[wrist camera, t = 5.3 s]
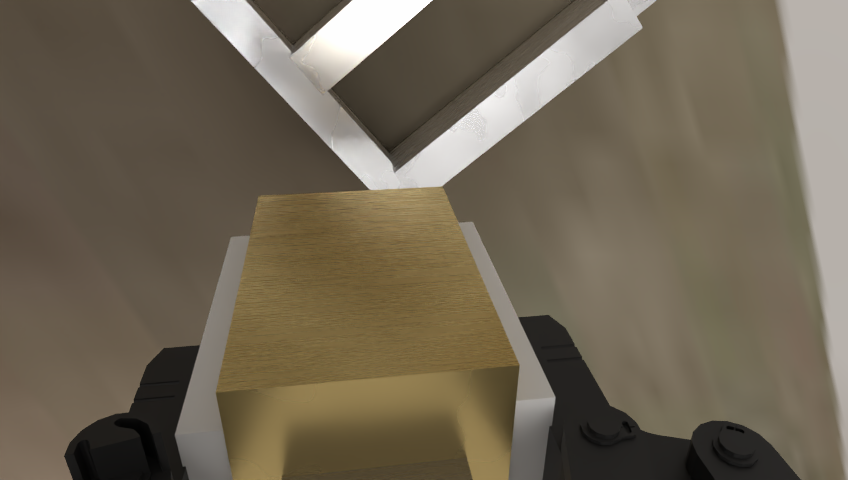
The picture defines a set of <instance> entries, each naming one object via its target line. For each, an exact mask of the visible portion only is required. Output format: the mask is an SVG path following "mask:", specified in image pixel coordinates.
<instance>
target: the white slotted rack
mask: <svg viewBox="0 0 848 480" xmlns="http://www.w3.org/2000/svg"><path fill="white" fill-rule="evenodd" d="M191 1H192V2H193V3H194V4H195V5H196V7H197V8H198V9H199V10H200V11H201V12H202V13H203V14H204V15H205V16H206V17H207V18H208V19H209V20H210V21H211V22H212V23H213V24H214V26H215V27H216V28H217V29H218V30H219V31H220V32H221V33H222V34H223V35H224V36H225V37H226V38H227V39H228V40H229V41H230V42H231V44H232V45H233V46H234V47H235V48H236V49H237V50H238V51H239V52H240V53H241V54H242V55H243V56H244V57H245V58H246V59H247V60H248V61H249V63H250V64H251V65H252V66H253V67H254V68H255V69H256V70H257V71H258V72H259V73H260V74H261V75H262V76H263V77H264V78H265V79H266V80H267V82H268V83H269V84H270V85H271V86H272V87H273V88H274V89H275V90H276V91H277V92H278V93H279V94H280V95H281V96H282V97H283V98H284V99H285V101H286V102H287V103H288V104H289V105H290V106H291V107H292V108H293V109H294V110H295V111H296V112H297V113H298V114H299V115H300V116H301V117H302V118H303V120H304V121H305V122H306V123H307V124H308V125H309V126H310V127H311V128H312V129H313V130H314V131H315V132H316V133H317V134H318V135H319V136H320V138H321V139H322V140H323V141H324V142H325V143H326V144H327V145H328V146H329V147H330V148H331V149H332V150H333V151H334V152H335V153H336V154H337V155H338V157H339V158H340V159H341V160H342V161H343V162H344V163H345V164H346V165H347V166H348V167H349V168H350V169H351V170H352V171H353V172H354V173H355V174H356V176H357V177H358V178H359V179H360V180H361V181H362V182H363V183H364V184H365V185H366V186H367V187H368V188H369V189H370V190H383V189H402V188H422V187H441V186H442V185H444V184H445V183H446V182H448V181H449V180H450V179H451V178H453V177H454V176H455V175H456V174H458V173H459V172H460V171H462V170H463V169H464V168H465V167H467V166H468V165H469V164H470V163H472V162H473V161H474V160H475V159H477V158H478V157H479V156H481V155H482V154H483V153H484V152H486V151H487V150H488V149H489V148H491V147H492V146H493V145H495V144H496V143H497V142H498V141H500V140H501V139H502V138H503V137H505V136H506V135H507V134H508V133H510V132H511V131H512V130H514V129H515V128H516V127H517V126H519V125H520V124H521V123H522V122H524V121H525V120H526V119H527V118H529V117H530V116H531V115H533V114H534V113H535V112H536V111H538V110H539V109H540V108H541V107H543V106H544V105H545V104H547V103H548V102H549V101H550V100H552V99H553V98H554V97H555V96H557V95H558V94H559V93H560V92H562V91H563V90H564V89H566V88H567V87H568V86H569V85H571V84H572V83H573V82H574V81H576V80H577V79H578V78H579V77H581V76H582V75H583V74H585V73H586V72H587V71H588V70H590V69H591V68H592V67H593V66H595V65H596V64H597V63H599V62H600V61H601V60H602V59H604V58H605V57H606V56H607V55H609V54H610V53H611V52H612V51H614V50H615V49H616V48H618V47H619V46H620V45H621V44H623V43H624V42H625V41H626V40H628V39H629V38H630V37H632V36H633V35H634V34H635V33H637V32H638V31H639V30H640V29H642V28H643V27H642V25H641V24H640V22H639V20H638V19H637V17H636V16H637V15H639V14H640V13H641V12H642V11H644V10H645V9H646V8H647V7H649V6H650V5H651V4H652V3H654V2H655V1H656V0H575V1H574V2H572V3H571V4H570V5H569V6H567V7H566V8H565V9H564V10H563V11H561V12H560V13H559V14H558V15H556V16H555V17H554V18H553V19H552V20H550V21H549V22H548V23H547V24H545V25H544V26H543V27H542V28H541V29H539V30H538V31H537V32H536V33H534V34H533V35H532V36H531V37H530V38H528V39H527V40H526V41H525V42H523V43H522V44H521V45H520V46H519V47H517V48H516V49H515V50H514V51H512V52H511V53H510V54H509V55H508V56H506V57H505V58H504V59H503V60H502V61H500V62H499V63H498V64H497V65H495V66H494V67H493V68H492V69H491V70H489V71H488V72H487V73H486V74H484V75H483V76H482V77H481V78H480V79H478V80H477V81H476V82H475V83H473V84H472V85H471V86H470V87H469V88H467V89H466V90H465V91H464V92H462V93H461V94H460V95H459V96H458V97H456V98H455V99H454V100H453V101H451V102H450V103H449V104H448V105H447V106H445V107H444V108H443V109H442V110H440V111H439V112H438V113H437V114H436V115H434V116H433V117H432V118H431V119H429V120H428V121H427V122H426V123H425V124H423V125H422V126H421V127H420V128H419V129H417V130H416V131H415V132H414V133H412V134H411V135H410V136H409V137H408V138H406V139H405V140H404V141H403V142H401V143H400V144H399V145H398V146H397V147H395V148H394V149H393V150H392V151H390V152H388V151H387V150H386V149H385V148H384V147H383V145H382V144H381V143H380V142H379V141H378V140H377V139H376V138H375V137H374V135H373V134H372V133H371V132H370V131H369V130H368V129H367V128H366V126H365V125H364V124H363V123H362V122H361V121H360V120H359V119H358V118H357V116H356V115H355V114H354V113H353V112H352V111H351V110H350V109H349V107H348V106H347V105H346V104H345V103H344V102H343V101H342V100H341V99H340V97H339V96H338V95H337V94H336V93H335V92H334V91H333V90H332V87H333V86H334V85H335V84H336V83H337V82H339V81H340V80H341V79H342V78H343V77H344V76H345V75H347V74H348V73H349V72H350V71H351V70H352V69H354V68H355V67H356V66H357V65H358V64H359V63H360V62H362V61H363V60H364V59H365V58H366V57H367V56H369V55H370V54H371V53H372V52H373V51H374V50H375V49H377V48H378V47H379V46H380V45H381V44H382V43H384V42H385V41H386V40H387V39H388V38H389V37H390V36H392V35H393V34H394V33H395V32H396V31H397V30H399V29H400V28H401V27H402V26H403V25H404V24H405V23H407V22H408V21H409V20H410V19H411V18H412V17H414V16H415V15H416V14H417V13H418V12H419V11H420V10H422V9H423V8H424V7H425V6H426V5H427V4H429V3H430V2H431V1H432V0H342V1H341V2H340V3H339V4H338V5H337V6H336V7H335V8H333V9H332V10H331V11H330V12H329V13H328V14H327V15H326V16H324V17H323V18H322V19H321V20H320V21H319V22H318V23H317V24H316V25H314V26H313V27H312V28H311V29H310V30H309V31H308V32H307V33H306V34H304V35H303V36H302V37H301V38H300V39H299V40H298V41H297V42H296V43H294V44H293V45H292V44H291V43H290V42H289V40H288V39H287V38H286V37H285V36H284V35H283V34H282V33H281V31H280V30H279V29H278V28H277V27H276V26H275V25H274V24H273V23H272V21H271V20H270V19H269V18H268V17H267V16H266V15H265V14H264V12H263V11H262V10H261V9H260V8H259V7H258V6H257V5H256V4H255V2H254V1H253V0H191Z"/></svg>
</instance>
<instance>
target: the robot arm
mask: <svg viewBox="0 0 848 480" xmlns="http://www.w3.org/2000/svg"><path fill="white" fill-rule="evenodd" d="M458 224H459V226H460V228H461V230H462V233H463V235H464V237H465V240H466V242H467V244H468V247H469V249H470V251H471V254H472V256H473V258H474V261H475V263H476V265H477V268H478V270H479V272H480V274H481V277H482V279H483V281H484V284H485V286H486V288H487V291H488V293H489V295H490V298H491V300H492V302H493V305H494V307H495V309H496V312H497V314H498V316H499V318H500V321H501V323H502V325H503V328H504V330H505V332H506V335H507V337H508V339H509V342H510V344H511V346H512V349H513V351H514V353H515V356H516V358H517V360H518V362H519V365H520V367H519V377H518V387H517V398H516V408H515V418H514V428H513V438H512V448H511V458H510V468H509V478H508V480H801V479H800V478H799V477H798V476H797V475H796V474H795V472H794V471H793V470H792V469H791V468H790V466H789V465H788V464H787V463H786V462H785V461H784V459H783V458H782V457H781V456H780V455H779V453H778V452H777V451H776V450H775V449H774V448H773V446H772V445H771V444H770V443H768V442H767V441H766V440H765V439H764V438H763V437H762V436H761V435H759V434H758V433H756V432H754V431H752V430H750V429H749V428H747V427H745V426H742V425H739V424H735V423H732V422H728V421H710V422H707V423H704V424H700V425H699V426H698V427H697V429H696V430H695V431H694V432H693V435H692V438H691V440H688V439H681V438H674V437H667V436H661V435H656V434H651V433H647V432H644V431H642V430H640V428H639V426H638V424H637V423H636V422H635V421H634V420H633V419H632V418H631V417H630V416H628V415H627V414H626V413H624V412H622V411H620V410H618V409H616V408H614V407H612V406H610V405H609V403H608V401H607V400H606V398H605V396H604V395H603V393H602V391H601V389H600V388H599V386H598V384H597V382H596V381H595V379H594V377H593V375H592V374H591V372H590V370H589V368H588V367H587V365H586V363H585V361H584V360H582V356H581V354H580V353H579V351H578V349H577V347H575V346H574V342H573V341H572V339H571V337H570V335H569V334H568V332H567V330H566V328H565V327H563V326H562V325H561V324H559V323H558V322H557V321H555V320H554V319H553V318H552V317H550V316H549V315H543V316H531V317H519V318H518V317H517V315H516V312H515V310H514V308H513V306H512V304H511V302H510V300H509V298H508V296H507V293H506V291H505V289H504V287H503V285H502V283H501V281H500V279H499V276H498V274H497V272H496V270H495V268H494V266H493V264H492V262H491V260H490V257H489V255H488V253H487V251H486V249H485V247H484V245H483V243H482V241H481V238H480V236H479V234H478V232H477V230H476V228H475V226H474V224H473V222H461V223H458ZM249 238H250V236H236V237H231V239H230V242H229V246H228V249H227V253H226V256H225V260H224V263H223V267H222V270H221V274H220V277H219V281H218V284H217V288H216V291H215V295H214V298H213V302H212V306H211V309H210V313H209V316H208V320H207V323H206V327H205V330H204V334H203V337H202V341H201V344H200V345H198V346H186V347H174V348H164V349H163V350H162V351H161V352H160V353H159V354H158V355H157V356H156V357H155V358H154V359H153V360H152V361H151V362H150V363H149V364H148V365H147V367H146V369H145V372H144V374H143V377H142V380H141V382H140V388H138V390H137V393H136V395H135V398H134V403H132V405H131V408H130V411H129V413H121V414H114V415H112V416H109V417H106V418H103V419H100V420H98V421H96V422H94V423H93V424H91V425H90V426H88V427H86V428H85V429H83V430H82V431H81V432H80V433H79V434H78V435H77V436H76V437H75V438H74V439H73V440H72V441H71V442H70V444H69V446H68V448H67V451H66V453H65V455H64V457H65V459H66V462H67V465H68V467H69V470H70V473H71V475H72V478H73V480H233V479H232V473H231V468H230V463H229V458H228V453H227V448H226V443H225V438H224V433H223V428H222V422H221V417H220V412H219V407H218V402H217V397H216V389H217V384H218V380H219V375H220V371H221V366H222V361H223V357H224V352H225V348H226V343H227V339H228V334H229V330H230V325H231V320H232V316H233V311H234V307H235V302H236V298H237V293H238V289H239V284H240V279H241V275H242V270H243V266H244V261H245V257H246V252H247V247H248V243H249Z"/></svg>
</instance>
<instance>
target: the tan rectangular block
mask: <svg viewBox="0 0 848 480" xmlns="http://www.w3.org/2000/svg"><path fill="white" fill-rule="evenodd" d="M519 367H520V365H519V362H518V360H517V358H516V356H515V353H514V351H513V349H512V346H511V344H510V342H509V339H508V337H507V335H506V332H505V330H504V328H503V325H502V323H501V321H500V318H499V316H498V314H497V312H496V309H495V307H494V305H493V302H492V300H491V298H490V295H489V293H488V291H487V288H486V286H485V284H484V281H483V279H482V277H481V274H480V272H479V270H478V268H477V265H476V263H475V261H474V258H473V256H472V254H471V251H470V249H469V247H468V244H467V242H466V240H465V237H464V235H463V233H462V230H461V228H460V226H459V224H458V221H457V219H456V217H455V214H454V212H453V210H452V207H451V205H450V203H449V200H448V198H447V196H446V193H445V191H444V189H443V186H441V187H422V188H402V189H383V190H363V191H344V192H324V193H305V194H285V195H266V196H259V197H258V202H257V206H256V211H255V216H254V220H253V225H252V229H251V234H250V238H249V243H248V247H247V252H246V257H245V261H244V266H243V270H242V275H241V279H240V284H239V289H238V293H237V298H236V302H235V307H234V311H233V316H232V320H231V325H230V330H229V334H228V339H227V343H226V348H225V352H224V357H223V361H222V366H221V371H220V375H219V380H218V384H217V389H216V397H217V402H218V407H219V412H220V417H221V422H222V428H223V433H224V438H225V443H226V448H227V453H228V458H229V463H230V468H231V473H232V479H233V480H508V478H509V468H510V458H511V448H512V438H513V428H514V418H515V408H516V398H517V387H518V377H519Z"/></svg>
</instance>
